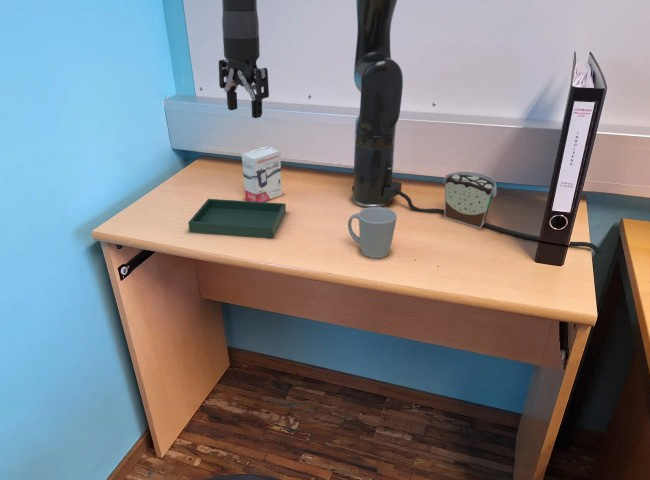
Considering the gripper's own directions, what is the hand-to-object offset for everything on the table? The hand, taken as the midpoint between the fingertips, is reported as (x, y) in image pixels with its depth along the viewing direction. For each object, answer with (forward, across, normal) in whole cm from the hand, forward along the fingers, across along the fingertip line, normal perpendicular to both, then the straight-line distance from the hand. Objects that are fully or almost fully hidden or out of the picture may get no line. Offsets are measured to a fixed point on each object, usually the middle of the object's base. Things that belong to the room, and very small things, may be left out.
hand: (244, 113), depth 122 cm
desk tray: (+22, -7, +8) cm, 24 cm away
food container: (+20, -44, -30) cm, 57 cm away
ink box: (+22, 0, -5) cm, 23 cm away
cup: (+21, -37, -2) cm, 43 cm away
